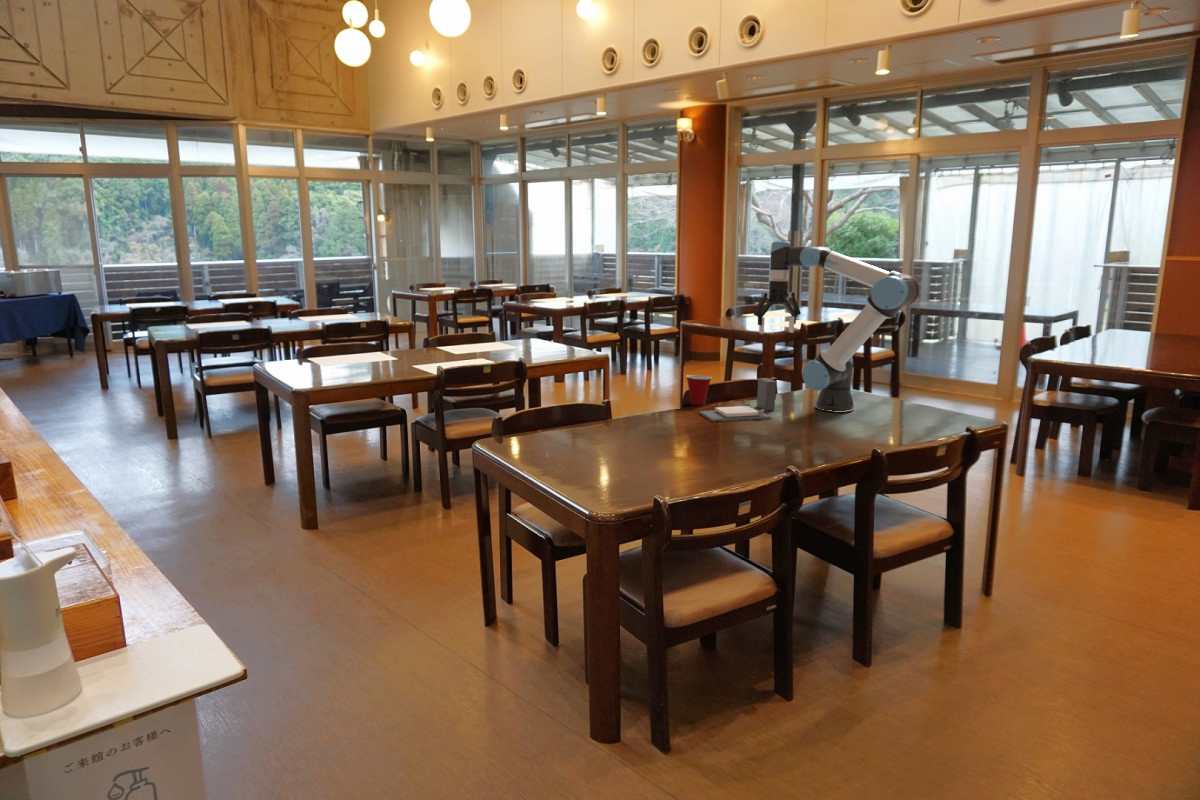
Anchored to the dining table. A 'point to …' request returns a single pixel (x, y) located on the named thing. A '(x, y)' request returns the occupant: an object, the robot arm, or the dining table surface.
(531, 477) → the dining table surface
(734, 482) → the dining table surface
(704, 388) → the plastic cup
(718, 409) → the tile
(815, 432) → the dining table surface
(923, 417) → the dining table surface
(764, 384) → the gray rectangular block
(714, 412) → the tile mat
